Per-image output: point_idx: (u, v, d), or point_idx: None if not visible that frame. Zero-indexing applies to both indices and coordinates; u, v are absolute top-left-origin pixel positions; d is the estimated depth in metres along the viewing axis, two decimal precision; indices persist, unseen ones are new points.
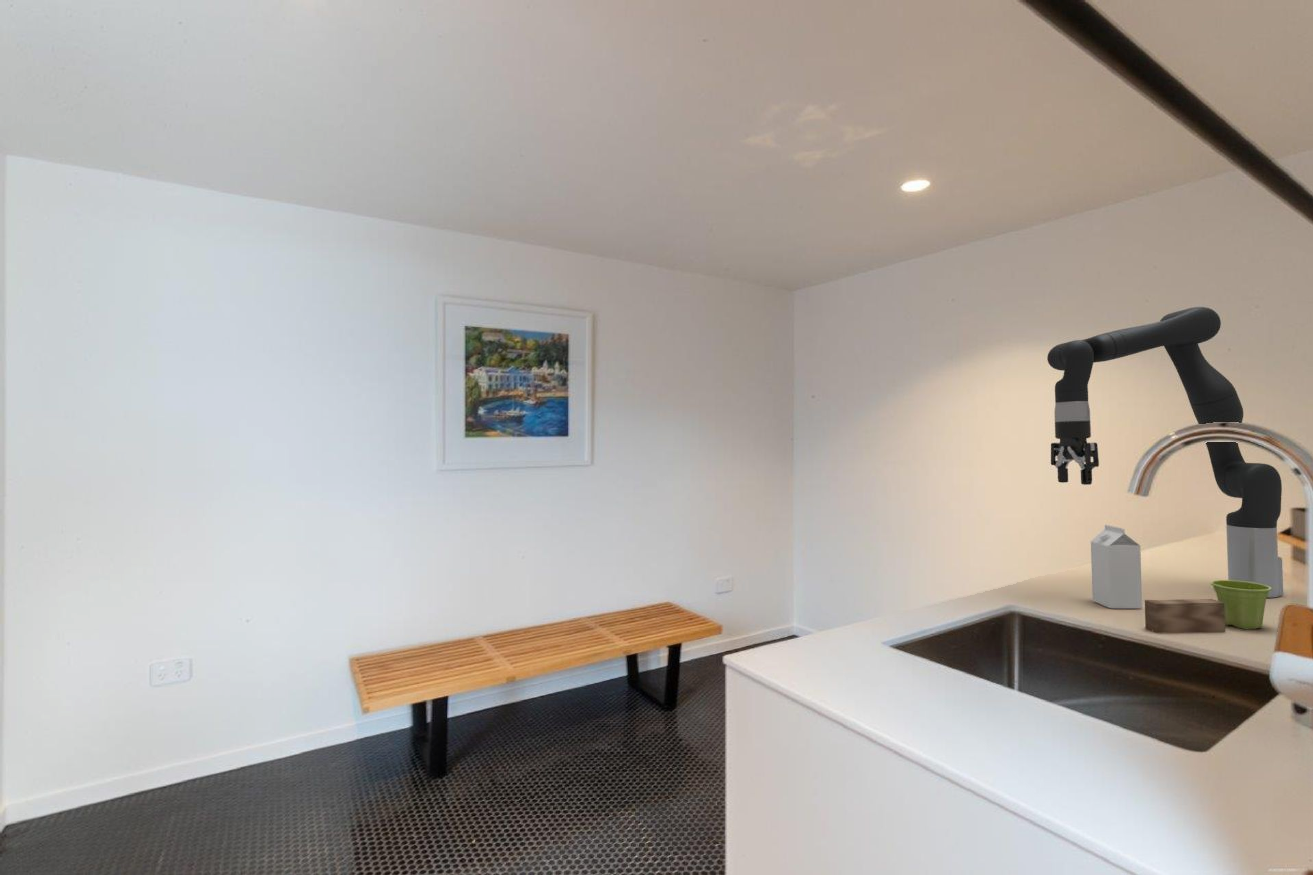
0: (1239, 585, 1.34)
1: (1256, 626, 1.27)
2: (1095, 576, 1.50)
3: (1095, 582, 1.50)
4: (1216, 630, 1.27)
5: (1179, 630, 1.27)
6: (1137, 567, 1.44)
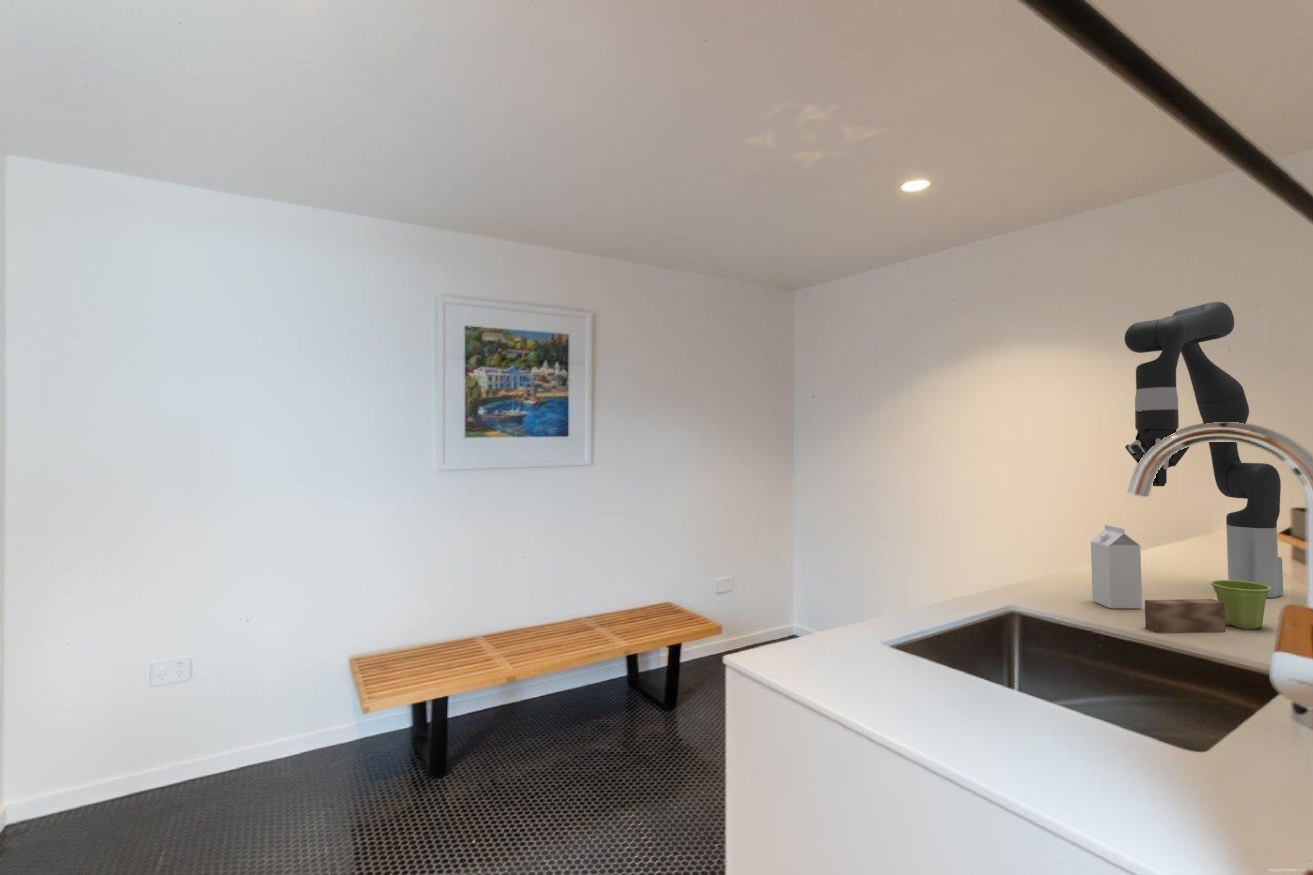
0: (1239, 585, 1.34)
1: (1256, 626, 1.27)
2: (1095, 576, 1.50)
3: (1095, 582, 1.50)
4: (1216, 630, 1.27)
5: (1179, 630, 1.27)
6: (1137, 567, 1.44)
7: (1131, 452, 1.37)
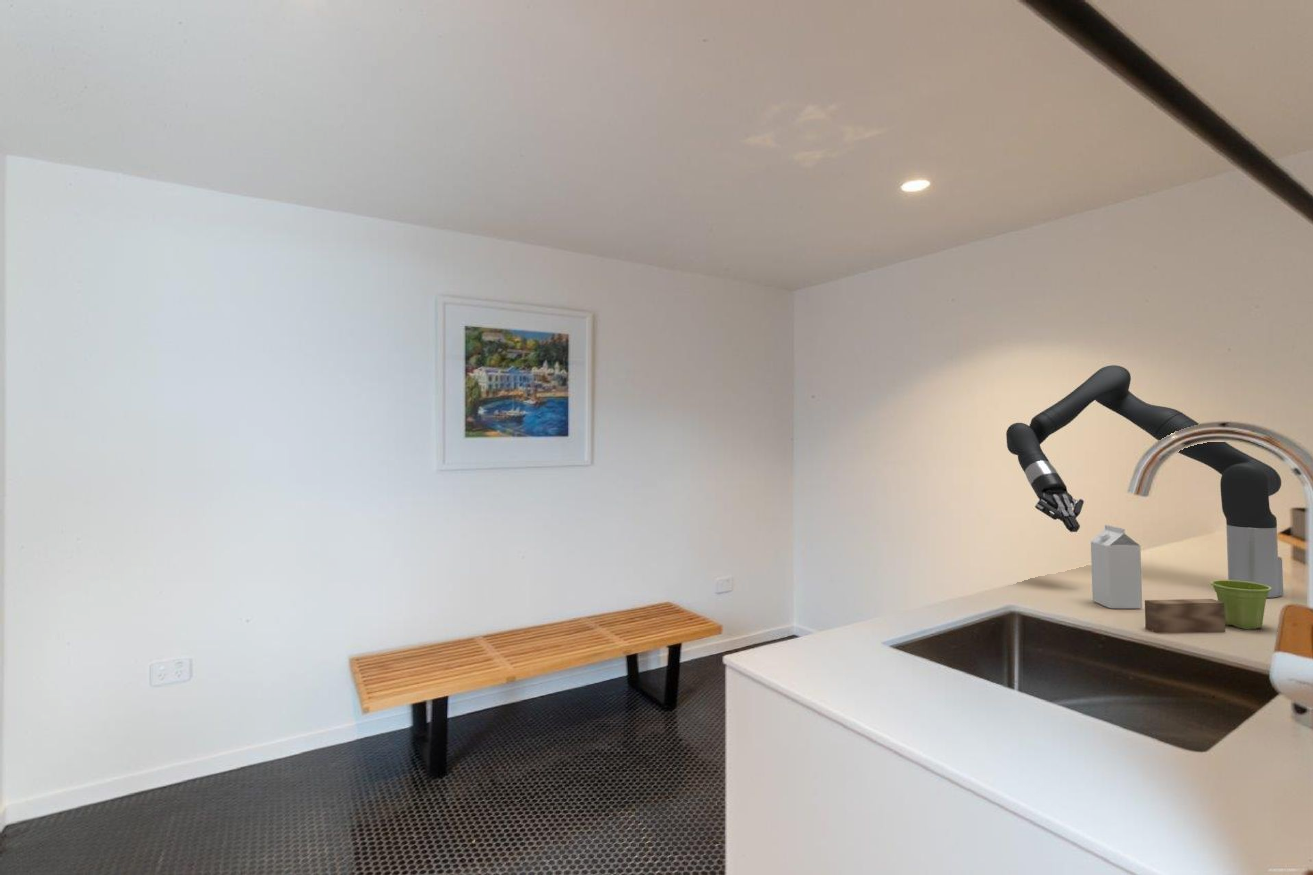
0: (1239, 585, 1.34)
1: (1256, 626, 1.27)
2: (1095, 576, 1.50)
3: (1095, 582, 1.50)
4: (1216, 630, 1.27)
5: (1179, 630, 1.27)
6: (1137, 567, 1.44)
7: (1041, 509, 1.67)
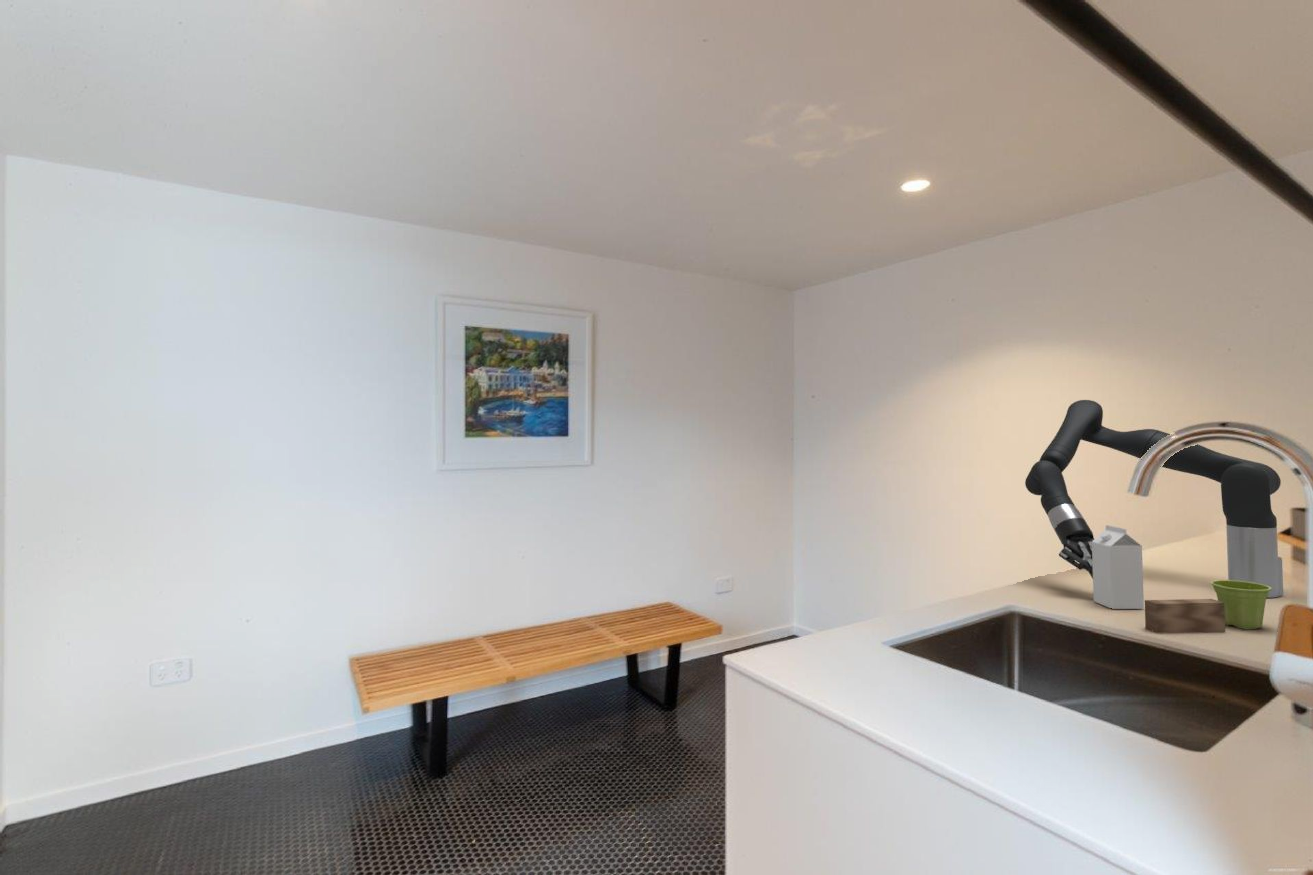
0: (1239, 585, 1.34)
1: (1256, 626, 1.27)
2: (1096, 576, 1.49)
3: (1096, 582, 1.49)
4: (1216, 630, 1.27)
5: (1179, 630, 1.27)
6: (1139, 567, 1.43)
7: (1065, 557, 1.57)
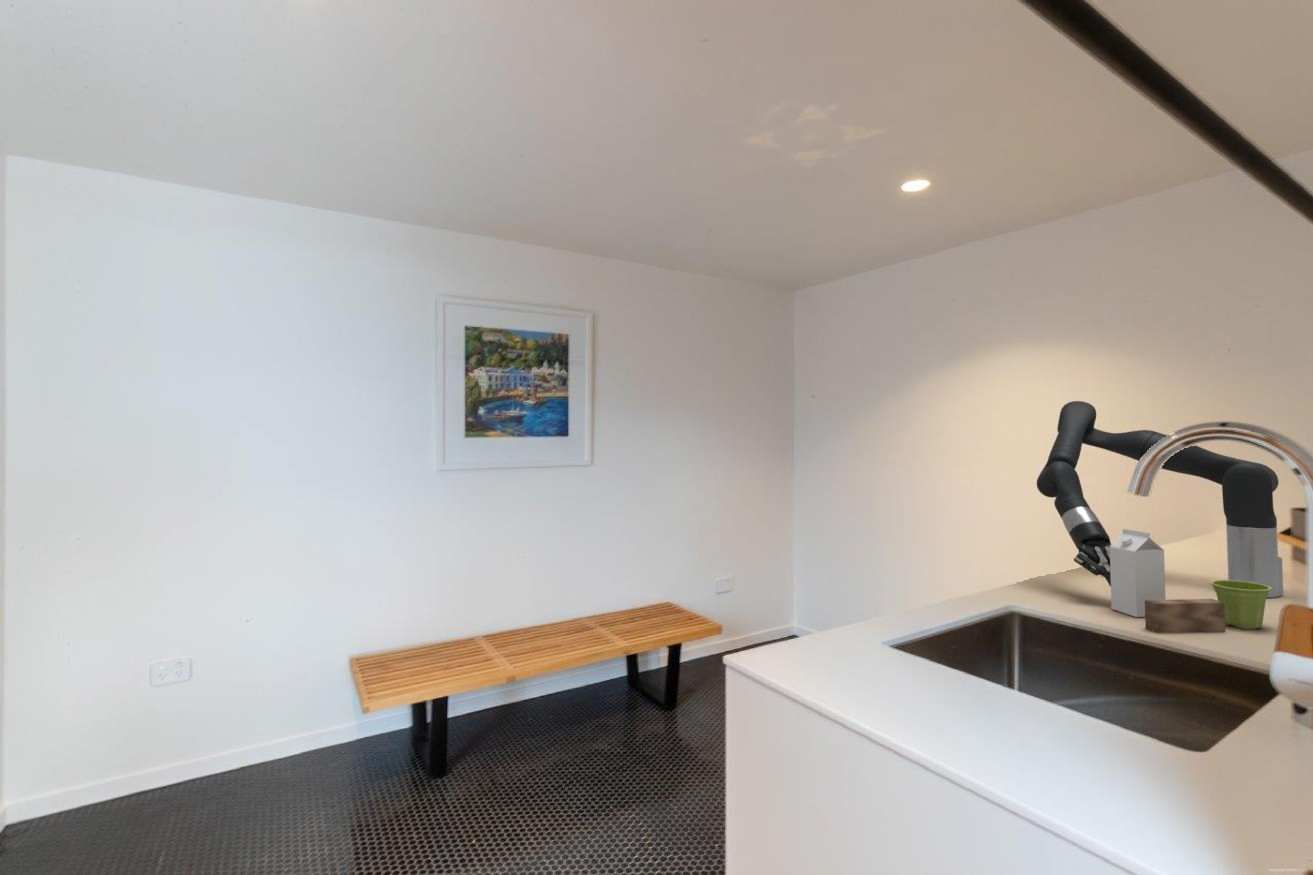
0: (1239, 585, 1.34)
1: (1256, 626, 1.27)
2: (1116, 583, 1.43)
3: (1115, 589, 1.43)
4: (1216, 630, 1.27)
5: (1179, 630, 1.27)
6: (1161, 573, 1.38)
7: (1080, 562, 1.51)
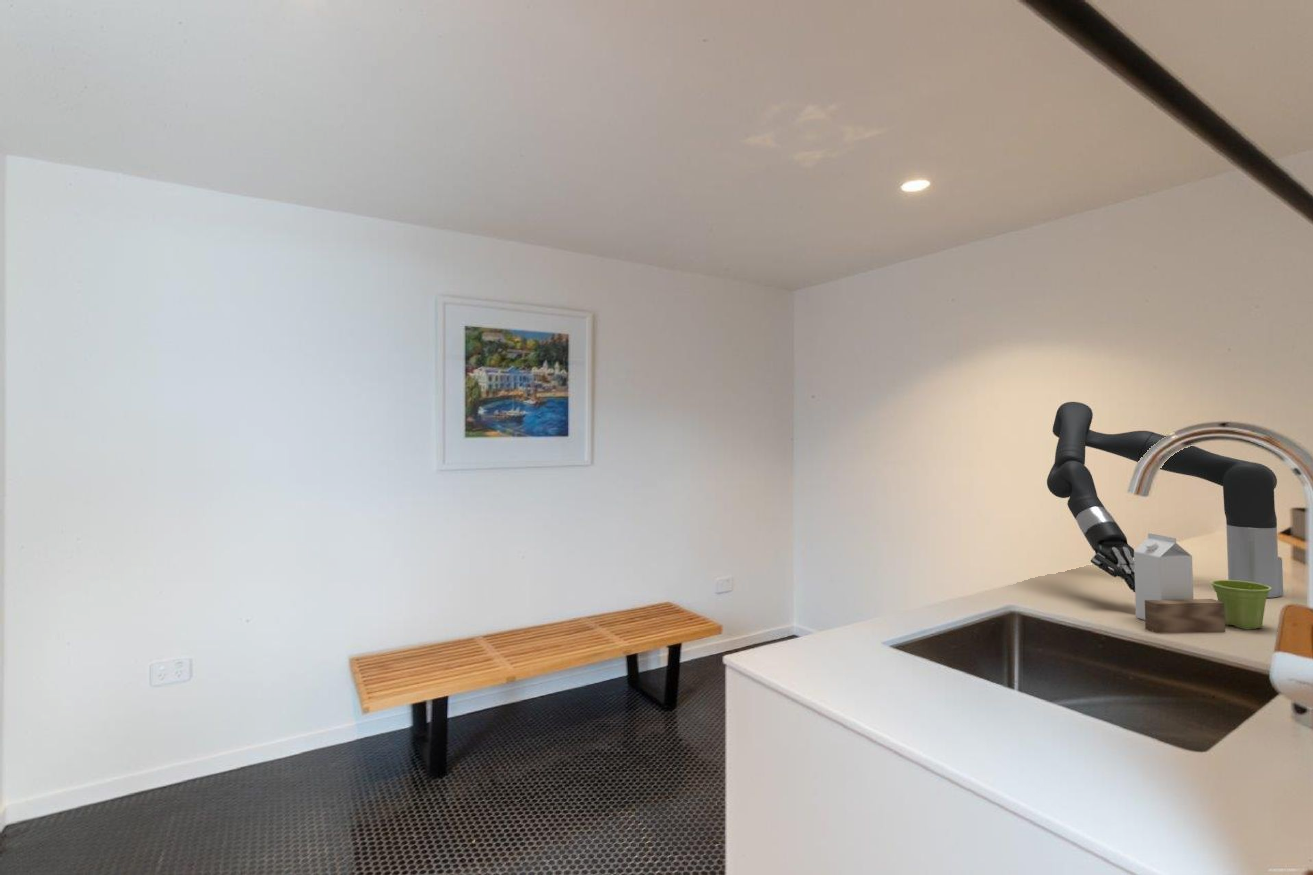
0: (1239, 585, 1.34)
1: (1256, 626, 1.27)
2: (1140, 590, 1.36)
3: (1140, 596, 1.36)
4: (1216, 630, 1.27)
5: (1179, 630, 1.27)
6: (1189, 580, 1.31)
7: (1098, 564, 1.46)
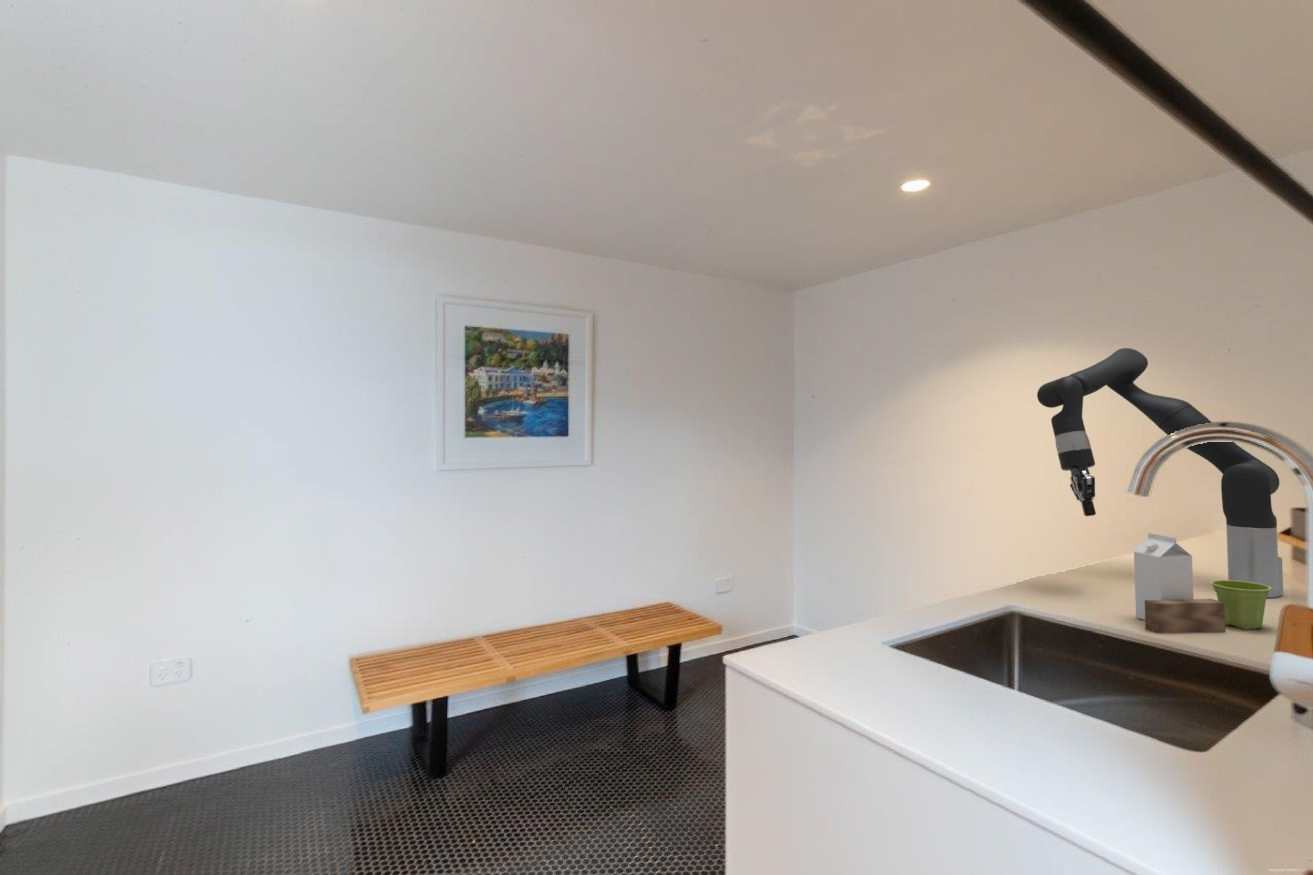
0: (1239, 585, 1.34)
1: (1256, 626, 1.27)
2: (1140, 590, 1.36)
3: (1140, 596, 1.36)
4: (1216, 630, 1.27)
5: (1179, 630, 1.27)
6: (1189, 580, 1.31)
7: (1087, 484, 1.55)
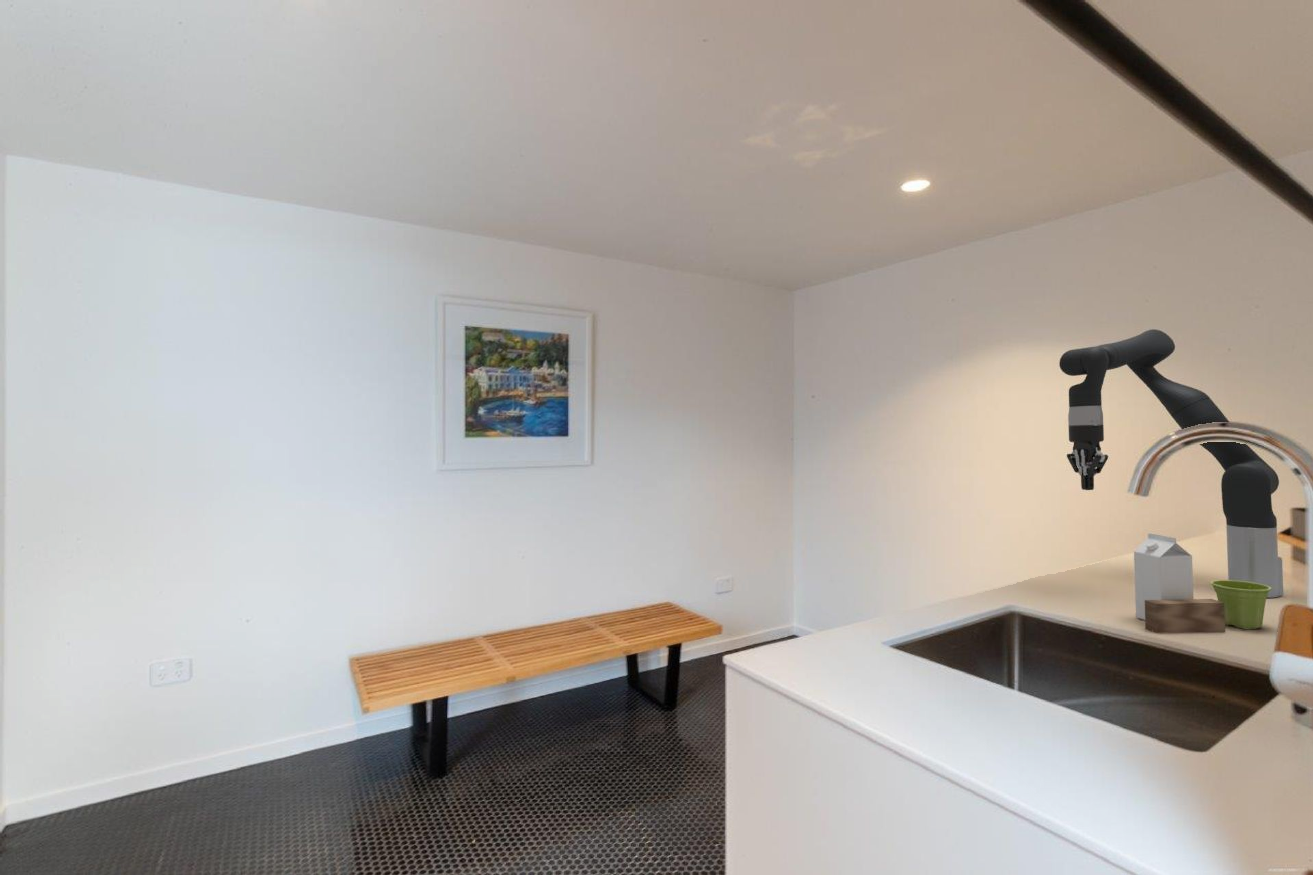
0: (1239, 585, 1.34)
1: (1256, 626, 1.27)
2: (1140, 590, 1.36)
3: (1140, 596, 1.36)
4: (1216, 630, 1.27)
5: (1179, 630, 1.27)
6: (1189, 580, 1.31)
7: (1099, 461, 1.55)
